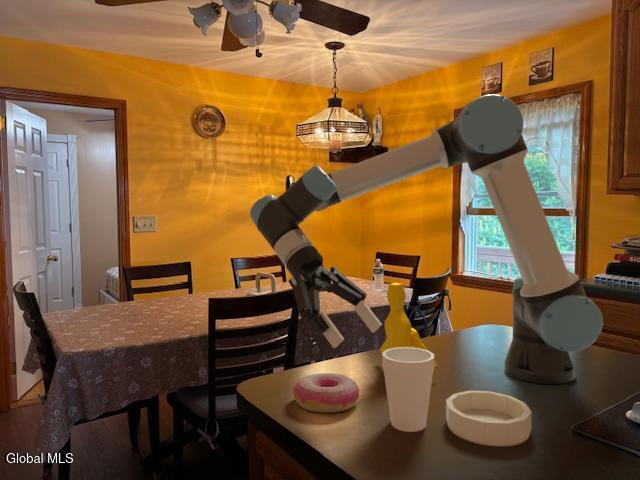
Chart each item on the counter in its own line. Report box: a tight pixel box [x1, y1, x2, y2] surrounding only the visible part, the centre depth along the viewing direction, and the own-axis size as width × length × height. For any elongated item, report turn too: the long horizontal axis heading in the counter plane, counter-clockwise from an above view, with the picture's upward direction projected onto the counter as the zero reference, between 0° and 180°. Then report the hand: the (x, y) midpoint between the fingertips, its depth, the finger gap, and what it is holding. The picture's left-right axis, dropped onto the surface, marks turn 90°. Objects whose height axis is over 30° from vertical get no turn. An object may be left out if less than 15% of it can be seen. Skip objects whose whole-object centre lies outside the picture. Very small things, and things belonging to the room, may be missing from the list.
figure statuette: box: [379, 282, 438, 368], centre depth 114 cm, size 18×8×22 cm, turn 39°
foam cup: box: [381, 347, 435, 433], centre depth 87 cm, size 10×9×13 cm
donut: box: [293, 372, 360, 414], centre depth 97 cm, size 14×13×5 cm
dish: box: [445, 390, 533, 448], centre depth 85 cm, size 14×14×4 cm
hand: (359, 336), depth 93 cm, fingers open, 13 cm apart
